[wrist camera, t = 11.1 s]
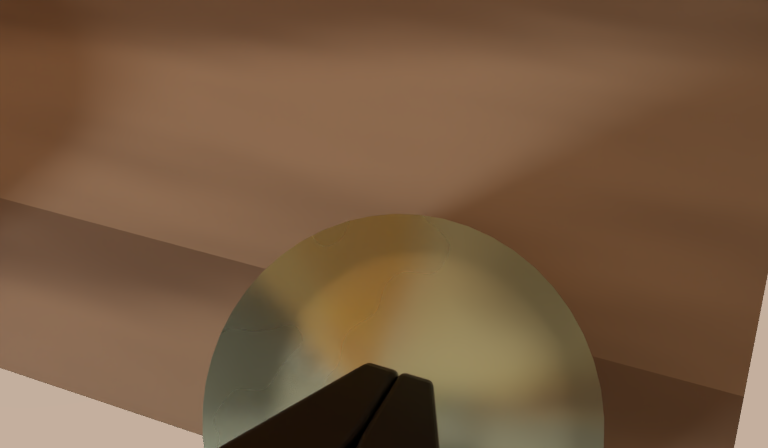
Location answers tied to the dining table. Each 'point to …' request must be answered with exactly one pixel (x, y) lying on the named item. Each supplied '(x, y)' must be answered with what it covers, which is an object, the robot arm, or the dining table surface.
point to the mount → (385, 178)
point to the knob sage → (410, 335)
